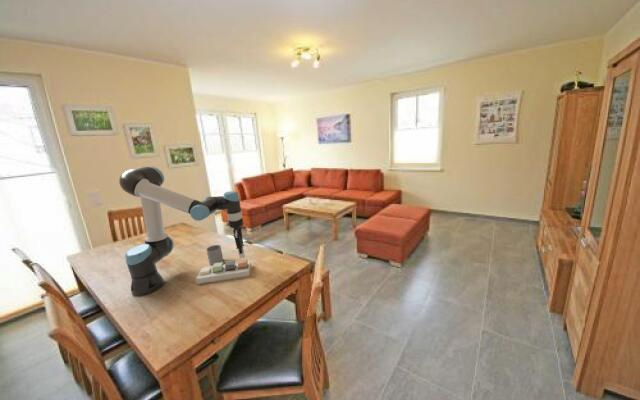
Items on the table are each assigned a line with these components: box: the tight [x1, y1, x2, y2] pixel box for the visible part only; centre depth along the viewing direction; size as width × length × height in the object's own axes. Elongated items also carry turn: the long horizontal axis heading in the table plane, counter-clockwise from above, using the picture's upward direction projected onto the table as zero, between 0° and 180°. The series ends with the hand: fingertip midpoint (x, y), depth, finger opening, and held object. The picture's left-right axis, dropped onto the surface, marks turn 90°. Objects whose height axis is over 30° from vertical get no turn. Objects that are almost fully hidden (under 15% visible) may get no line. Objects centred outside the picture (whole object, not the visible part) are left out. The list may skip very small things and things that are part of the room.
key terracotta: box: [237, 258, 249, 269], centre depth 146 cm, size 5×5×4 cm
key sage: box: [212, 261, 224, 273], centre depth 143 cm, size 5×5×4 cm
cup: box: [206, 244, 224, 266], centre depth 160 cm, size 8×8×10 cm
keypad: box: [195, 260, 252, 285], centre depth 145 cm, size 28×12×4 cm, turn 100°
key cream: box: [199, 266, 211, 275], centre depth 143 cm, size 5×5×4 cm
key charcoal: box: [225, 260, 237, 271], centre depth 144 cm, size 5×5×4 cm
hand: (242, 257), depth 144 cm, fingers closed
